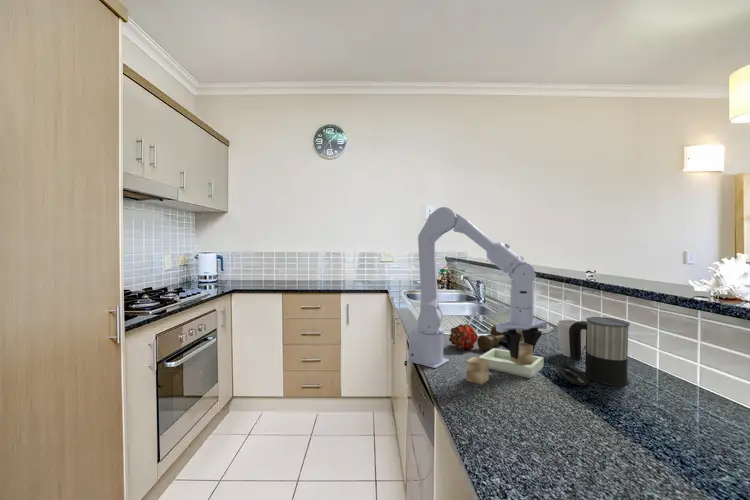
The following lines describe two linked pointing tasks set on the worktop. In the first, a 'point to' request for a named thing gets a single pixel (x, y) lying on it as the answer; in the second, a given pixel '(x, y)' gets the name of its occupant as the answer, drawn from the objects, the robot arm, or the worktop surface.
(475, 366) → the maple block
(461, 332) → the dragon fruit
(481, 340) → the kendama
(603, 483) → the worktop surface
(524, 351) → the maple block
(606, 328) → the milk frother
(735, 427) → the worktop surface
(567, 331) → the cup
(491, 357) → the tray
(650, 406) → the worktop surface
